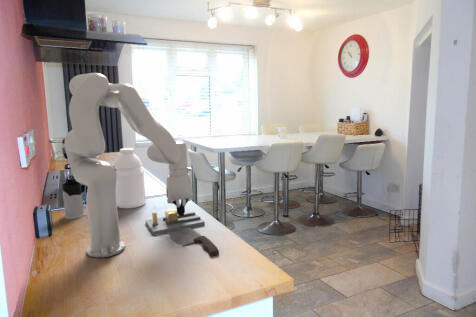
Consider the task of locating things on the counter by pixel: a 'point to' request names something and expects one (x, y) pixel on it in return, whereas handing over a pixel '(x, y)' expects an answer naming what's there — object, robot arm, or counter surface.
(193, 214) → the bolt plate
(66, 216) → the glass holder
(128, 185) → the bottle
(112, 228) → the robot arm
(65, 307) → the counter surface
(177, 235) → the cleaver
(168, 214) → the cardboard box
